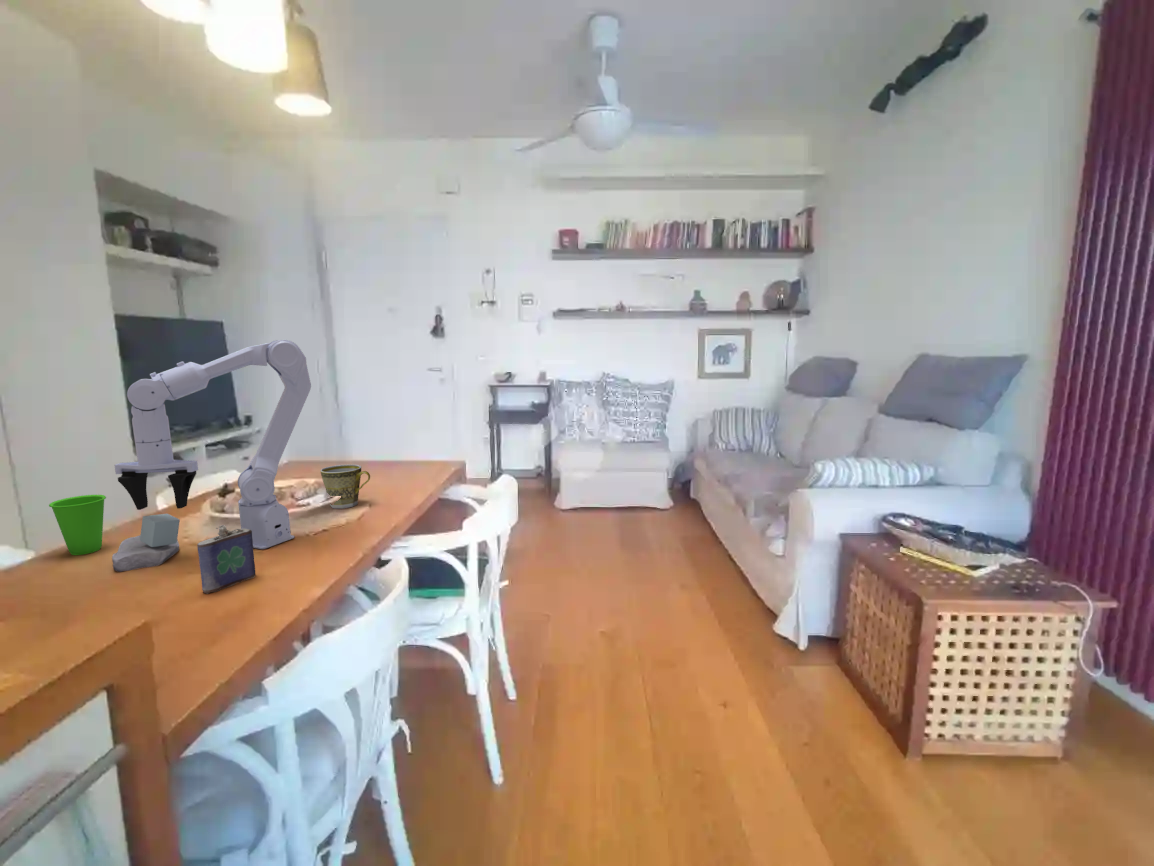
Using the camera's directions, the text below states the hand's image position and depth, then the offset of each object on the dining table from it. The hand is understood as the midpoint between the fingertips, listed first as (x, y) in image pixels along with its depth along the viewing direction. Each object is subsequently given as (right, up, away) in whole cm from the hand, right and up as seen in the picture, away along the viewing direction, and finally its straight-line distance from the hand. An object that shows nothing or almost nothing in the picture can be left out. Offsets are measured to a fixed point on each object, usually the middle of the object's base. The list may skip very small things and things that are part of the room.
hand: (162, 507), depth 115 cm
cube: (-1, -7, +1) cm, 7 cm away
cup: (-21, -10, +6) cm, 24 cm away
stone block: (-3, -11, +1) cm, 12 cm away
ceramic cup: (+22, -4, +38) cm, 44 cm away
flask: (+21, -12, -12) cm, 27 cm away
